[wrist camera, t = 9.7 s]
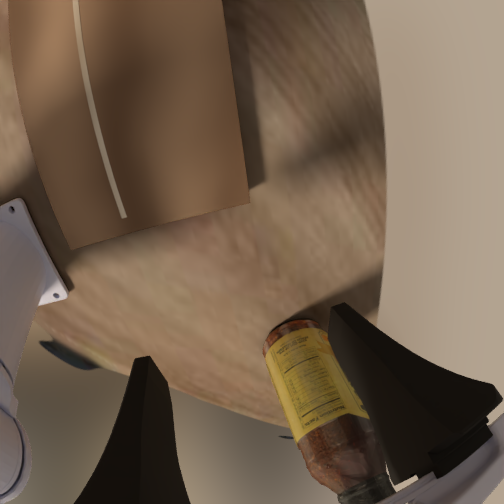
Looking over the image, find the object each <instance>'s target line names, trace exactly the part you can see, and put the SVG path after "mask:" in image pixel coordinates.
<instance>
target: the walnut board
mask: <svg viewBox="0 0 504 504" xmlns="http://www.w3.org/2000/svg"><path fill="white" fill-rule="evenodd" d="M8 11H9V33H10V45H11V54H12V62H13V70H14V76H15V82H16V88H17V93H18V98H19V103H20V107H21V112H22V116H23V120H24V124H25V128H26V132H27V136H28V139H29V143H30V146H31V150H32V153H33V156H34V159H35V162H36V165H37V168H38V171H39V174H40V177H41V180H42V183H43V186H44V188H45V191H46V194H47V196H48V199H49V201H50V204H51V206H52V209H53V211H54V214H55V216H56V219H57V221H58V223H59V226H60V228H61V230H62V232H63V235H64V237H65V239H66V241H67V243H68V245H69V247H70V250H74V249H77V248H80V247H84V246H87V245H90V244H94V243H97V242H101V241H104V240H107V239H111V238H114V237H118V236H121V235H125V234H128V233H132V232H136V231H139V230H143V229H147V228H150V227H154V226H158V225H162V224H166V223H169V222H173V221H177V220H181V219H185V218H189V217H193V216H197V215H201V214H205V213H209V212H214V211H218V210H222V209H226V208H231V207H235V206H239V205H244V204H248V203H250V197H249V189H248V182H247V175H246V167H245V160H244V153H243V146H242V138H241V131H240V124H239V117H238V110H237V103H236V95H235V88H234V81H233V74H232V67H231V60H230V53H229V46H228V39H227V32H226V25H225V19H224V12H223V5H222V0H8Z"/></svg>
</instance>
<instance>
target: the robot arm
mask: <svg viewBox="0 0 504 504" xmlns="http://www.w3.org/2000/svg"><path fill="white" fill-rule="evenodd" d="M11 206H12V207H14V209H15V211H13V210H12V209H11ZM55 293H57V294H59V295H57V294H55ZM68 294H69V291H68V289H67V287H66V286H65V284H64V282H63V280H62V279H61V277H60V275H59V273H58V271H57V270H56V268H55V266H54V264H53V262H52V260H51V258H50V256H49V255H48V253H47V251H46V249H45V247H44V245H43V243H42V240H41V238H40V236H39V234H38V232H37V230H36V228H35V225H34V223H33V221H32V219H31V216H30V214H29V212H28V209H27V207H26V205H25V202H24V201H23V200H22V199H21V198H16V199H14V200H11V201H9V202H7V203H5V204H3V205H1V206H0V504H4V503H5V502H7V501H10V500H12V499H14V498H16V497H17V496H18V495H19V494H20V493H21V492H22V490H23V489H24V488H25V486H26V484H27V482H28V479H29V476H30V472H31V464H32V455H31V447H30V442H29V439H28V436H27V434H26V431H25V429H24V427H23V426H22V425H21V423H20V422H19V421H18V419H17V418H16V412H17V406H18V400H17V399H16V398H15V397H14V395H13V387H14V382H15V378H16V373H17V370H18V366H19V363H20V359H21V355H22V352H23V349H24V345H25V342H26V339H27V336H28V333H29V330H30V327H31V324H32V321H33V318H34V315H35V313H36V310H37V307H38V306H39V305H43V304H47V303H51V302H55V301H59V300H63V299H66V298H67V297H68ZM327 339H328V341H329V343H330V346H331V348H332V350H333V352H334V355H335V357H336V359H337V361H338V363H339V364H340V366H341V368H342V369H343V371H344V373H345V374H346V376H347V378H348V379H349V381H350V383H351V384H352V386H353V388H354V390H355V391H356V393H357V395H358V396H359V398H360V400H361V401H362V403H363V405H364V407H365V409H366V412H367V414H368V416H369V418H370V421H371V423H372V425H373V428H374V430H375V433H376V435H377V438H378V441H379V443H380V446H381V449H382V452H383V455H384V458H385V461H386V464H387V468H388V471H389V474H390V479H391V480H392V482H393V484H394V485H397V484H399V483H401V482H403V481H405V480H407V479H409V478H411V477H413V476H414V475H417V477H418V480H417V481H415V482H414V483H412V484H410V485H409V486H407V487H405V488H404V489H402V490H400V491H398V492H396V493H395V494H393V495H391V496H389V497H387V498H385V499H383V500H381V501H379V502H377V503H375V504H405V503H407V502H408V504H482V503H483V502H484V501H485V499H486V498H487V497H488V496H489V495H490V494H491V493H492V492H493V490H494V489H495V488H496V487H497V486H498V484H499V483H500V482H501V481H502V479H503V478H504V413H503V414H502V415H500V416H499V417H498V418H497V419H496V420H495V421H494V422H493V423H492V424H490V425H488V426H487V423H488V422H489V420H488V418H487V417H486V416H487V415H488V414H489V413H490V412H491V411H492V410H494V409H495V408H496V407H497V406H498V405H499V404H500V403H501V402H502V400H503V398H502V396H501V395H500V394H499V392H498V391H497V389H496V388H495V386H494V385H493V384H490V383H485V382H482V381H478V380H474V379H471V378H467V377H465V376H462V375H459V374H456V373H454V372H451V371H449V370H446V369H444V368H442V367H439V366H437V365H435V364H433V363H431V362H429V361H427V360H426V359H424V358H422V357H420V356H418V355H416V354H415V353H413V352H411V351H410V350H408V349H407V348H405V347H404V346H402V345H401V344H399V343H398V342H396V341H394V340H393V339H392V338H390V337H389V336H387V335H386V334H385V333H383V332H382V331H380V330H379V329H378V328H377V327H375V326H374V325H373V324H371V323H370V322H369V321H368V320H366V319H365V318H364V317H362V316H361V315H360V314H359V313H357V312H356V311H355V310H354V309H352V308H351V307H350V306H349V305H347V304H346V303H345V302H344V303H341V304H338V305H335V306H333V307H331V311H330V321H329V330H328V338H327ZM74 504H191V503H190V501H189V498H188V495H187V492H186V488H185V485H184V481H183V478H182V474H181V470H180V467H179V462H178V457H177V450H176V441H175V431H174V421H173V410H172V402H171V397H170V392H169V387H168V382H167V381H166V379H165V378H164V376H163V375H162V373H161V372H160V370H159V369H158V367H157V366H156V364H155V363H154V361H153V360H152V358H151V357H150V356H145V357H140V358H135V360H134V362H133V366H132V370H131V373H130V377H129V381H128V384H127V387H126V391H125V394H124V397H123V401H122V404H121V407H120V410H119V413H118V416H117V419H116V422H115V424H114V427H113V430H112V433H111V435H110V438H109V441H108V443H107V445H106V447H105V450H104V452H103V454H102V456H101V459H100V460H99V463H98V465H97V467H96V468H95V471H94V472H93V474H92V476H91V478H90V479H89V481H88V483H87V484H86V486H85V488H84V489H83V491H82V493H81V495H80V496H79V497H78V498H77V500H76V501H75V503H74Z"/></svg>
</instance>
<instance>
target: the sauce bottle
mask: <svg viewBox="0 0 504 504" xmlns="http://www.w3.org/2000/svg"><path fill="white" fill-rule="evenodd" d="M327 338H328V334H327V333H326V332H325V331H323V330H322V328H321V327H320V325H319V324H318V323H317V322H315V321H313V320H310V319H307V320H294V321H291V322H288V323H285V324H283V325H281V326H280V327H277V328H276V329H275V330H274V331H272V332H271V333H269V336H268V337H267V339H266V340H265V343H264V347H263V355H264V357H265V360H266V363H267V364H266V366H267V369H268V371H269V374H270V377H271V380H272V382H273V385H274V388H275V390H276V393H277V395H278V398H279V401H280V403H281V406H282V408H283V411H284V414H285V416H286V419H287V421H288V424H289V427H290V429H291V432H292V434H293V437H294V439H295V442H296V444H297V447H298V448H299V450H301V452H302V455H303V458H304V459H305V462H306V466H307V469H308V470H309V472H310V474H311V476H312V477H313V478H314V479H316V480H317V481H318V482H319V483H320V484H321V485H324V486H326V487H328V488H329V489H331V490H332V491H333V492H335V493H337V495H338V501H339V503H341V504H375V503H377V502H379V501H381V500H383V499H385V498H387V497H389V496H391V495H393V494H395V493H396V491H395V490H394V488H393V487H392V484H391V482H390V480H389V475H388V474H387V472H386V463H385V458H384V455H383V452H382V449H381V446H380V443H379V441H378V438H377V435H376V433H375V430H374V428H373V425H372V423H371V421H370V418H369V416H368V414H367V412H366V409H365V407H364V405H363V403H362V401H361V400H360V398H359V396H358V395H357V393H356V391H355V390H354V388H353V386H352V384H351V383H350V381H349V379H348V378H347V376H346V374H345V373H344V371H343V369H342V368H341V366H340V364H339V363H338V361H337V359H336V357H335V355H334V352H333V350H332V348H331V346H330V343H329V341H328V339H327Z"/></svg>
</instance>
